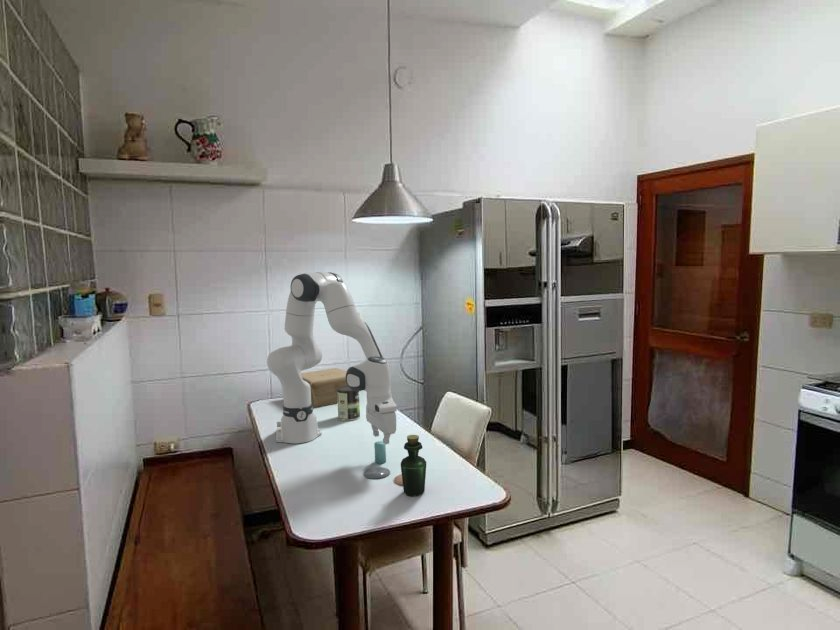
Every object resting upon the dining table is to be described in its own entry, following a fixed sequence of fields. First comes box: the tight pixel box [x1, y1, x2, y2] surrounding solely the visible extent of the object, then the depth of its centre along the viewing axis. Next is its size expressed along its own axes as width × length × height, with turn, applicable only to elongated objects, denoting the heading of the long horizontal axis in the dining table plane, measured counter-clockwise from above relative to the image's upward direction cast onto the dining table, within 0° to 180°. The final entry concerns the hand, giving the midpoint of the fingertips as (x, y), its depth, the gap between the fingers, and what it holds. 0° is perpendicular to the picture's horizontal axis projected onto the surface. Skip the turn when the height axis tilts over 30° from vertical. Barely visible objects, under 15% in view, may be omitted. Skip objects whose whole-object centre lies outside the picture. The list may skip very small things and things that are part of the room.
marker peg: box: [373, 440, 387, 465], centre depth 188 cm, size 4×4×7 cm
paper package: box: [301, 367, 348, 409], centre depth 274 cm, size 27×26×14 cm
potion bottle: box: [400, 434, 427, 497], centre depth 162 cm, size 8×8×18 cm
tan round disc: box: [393, 473, 403, 487], centre depth 172 cm, size 9×9×1 cm
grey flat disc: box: [363, 466, 391, 480], centre depth 178 cm, size 9×9×1 cm
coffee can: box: [337, 386, 361, 422], centre depth 240 cm, size 10×10×14 cm
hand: (381, 439), depth 187 cm, fingers open, 8 cm apart
